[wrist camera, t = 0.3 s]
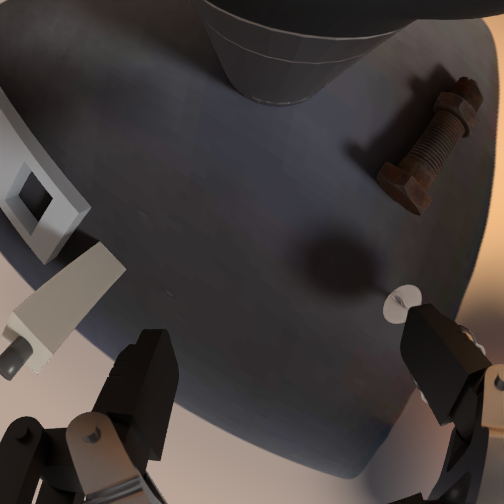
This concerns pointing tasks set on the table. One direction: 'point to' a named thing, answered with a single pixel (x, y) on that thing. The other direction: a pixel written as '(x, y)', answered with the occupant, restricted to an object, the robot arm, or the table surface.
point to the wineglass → (398, 310)
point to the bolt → (433, 147)
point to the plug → (56, 310)
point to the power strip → (51, 177)
